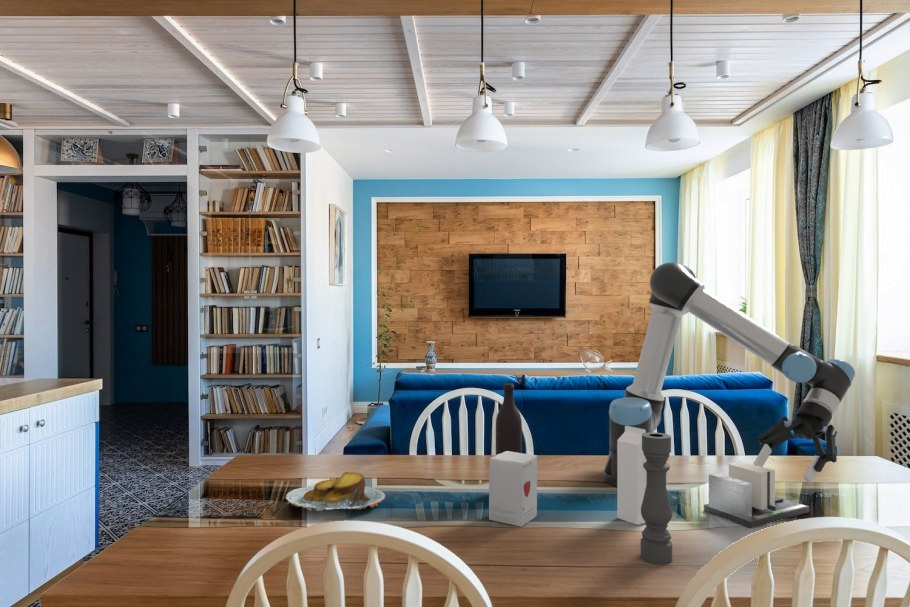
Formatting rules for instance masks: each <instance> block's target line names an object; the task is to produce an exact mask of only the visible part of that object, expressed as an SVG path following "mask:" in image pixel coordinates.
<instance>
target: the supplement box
mask: <svg viewBox="0 0 910 607" xmlns="http://www.w3.org/2000/svg"><path fill="white" fill-rule="evenodd" d="M488 468H489V470H488V472H489V474H488V476H489V477H488V478H489V480H488V483H489V484H488V486H489V487H488V520H490V521H494V522H497V523H498V522H499V523H503V524H508V525H511V526H512V525H513V526H516V527H521V528H522V527H523V526H524V525H526V524H528V523H529V522H530V521H532V520H533V519H534V518H536V517H537V516H538V455H536V454H529V453H523V452H522V453H517V452H511V451H505V452H503V453H501V454H498V455H496V454H495V455H494V456H492V457H490V458H489V466H488Z"/></svg>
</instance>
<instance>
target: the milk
mask: <svg viewBox="0 0 910 607" xmlns="http://www.w3.org/2000/svg"><path fill="white" fill-rule="evenodd" d="M643 433H646V430H645V429H640V428H635V427H630V426H625V432H624V433H623V434H622V436H621V437H620V438H619V439H618V440H617V486H616V488H617V490H616V492H617V493H616V494H617V495H616V496H617V499H616V500H617V501H616V502H617V506H616V508H617V511H616V513H617V516H616V518H617V519H619V520H622V521H624V522H628V523H630V524H633V525H636V526H640V525H642V524H643V525H644V524H645V521H644V520H643V518H642V515H641V505H642V501H643V497H644V493H645V489H646V469H644V467H643V463H645V462H646V461H647V460H646V459H645V456H644V454H643V451H642V434H643Z"/></svg>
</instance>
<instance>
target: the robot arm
mask: <svg viewBox="0 0 910 607" xmlns="http://www.w3.org/2000/svg"><path fill="white" fill-rule="evenodd" d="M649 288H650V290H651V293H650V298H649V301H648V304H649V306H650V308H651V314H650V316H649V321H648V325H647V328H646V333H645V336H644V340H643V345H642V348H641V351H640V356H639V359H638V363H637V366H636V371H635V373H634V379H633V382H632V384H630V385H628V386H627V387H626V388H625V393H624V396H623V397H621V398H616V399H613V400H612V401H611V402H610V404H609V409H608V416H609V417H608V418H609V454H608V458H607V460H606V462H605V465H604V469H603V474H602V476H603V478H602V479H603V481H604V482H605V483H607V484H609V485H611V486H615V487H617V440H618V439H619V438H620V437H621V436H622V434H623V433H624V432H625V426H630V427H635V428H640V429H645V430H646V433H650V432H654V431H655V430H656V429H657V428H658V427H659V425H660V423H661V421H662V409H663V406H664V402H665V397H664V395H663V393H662V390H663V385H664V383H665V382H664V381H665V379H666V374H667V372H668V371H667V370H668V369H669V368H668V367H669V364H670V359H671V356H672V353H673V349H674V346H675V342H676V337H677V334H678V330H679V325H680V324H681V318H682V317H684V316H685V315H686V314H688V313H690V314H692V315H694V316H695V317H696V318H697V319H700V320H701V321H703V322H704V323H705V324H707V325H709V326H710V327H711V328H714V330H716V331H717V332H719V333H721V334H722V335H723V336H725V337H726V338H728V339H729V340H731V341H733V342H734V343H736V344H738V345H739V346H740V347H742V349H745V350H747V351H748V352H749V353H751V354H752V355H754V356H755V357H757V358H759V359H761V361H763V362H765V364H767V365H769V366H771V367H772V368H773V369H775V370H777V371H778V372H780V374H782V375H784V376H785V378H787V379H788V380H790V381H792V382H793V383H801V384H803V383H805V384H807V385H809V386H811V388H810V390H809V391H808V393H807V394H806V397H805V398H804V400H803V402H802V403H801V405H800V407H799V408H798V410H797V412H796V417H795V418H794V419H790V418H789V419H788V418H787V416H782V417H781V419H780V420H779V422H777V423H776V424H774V425H773V426H772V427H770V428H769V429H767V430H766V431H764V433H762V434H761V435H759V436H758V437H757V441H758V442H759V444H760V445H761V446H760V448H758V451H757V456H756V458H755V460H754V462H753V465H756V466H760V467H764V465H765V463H767V460H768V459H769V457H770V455H771V453H772V452H773V450H772V448H775V447H777V446H778V445H780V444H782V443H784V442H787V441H788V440H789V441H790V440H794V439H797V438H798V439H805V440H807V441H810V440H812V442H813V444H814V446H815V449H816V452H817V455H814V456H813V457H812V460H811V461H810V463H809V465H808V467H807V468H806V470H805V472H804V473H803V474H804V475H803V478H804V479H805V481H806V483H807V484H810V485H811V484H812V482H813V481H814V479H815V477H816V475H817V474H818V473H821V472H822V471H823V468H824V467H825V465H826V464H827V463H828V462H831V463H836V462H837V461H838V460H837V459H838V458H837V448H836V447H837V446H836V436H837V433H838V431H837V430H836V429H835V427H834V424H830V422H831V420H832V418H833V416H834V415H835V413H836V411H837V409H838V407H839V406H840V404H841V402H842V400H843V399H844V397H845V395H846V394H847V392H848V390H849V388H850V387H851V386H852V383H853V380H854V378H855V376H856V371H855V368H854V367H853V366H852V364H850V363H848V362H846V361H845V360H840V359H839V358H831V359H828V360H827V361H825V360H822V359H820V358H819V357H817V356H815V355H813V354H811V353H810V352H808V351H806V350H805V349H803V348H801V347H799V346H798V345H795V344H793V343H790V342H788V341H787V340H785V339H784V338H782V337H781V336H779V335H777V334H776V333H775V332H773V331H772V330H770V329H768V328H766V327H765V326H764V325H762V324H761V323H759V322H757V321H756V320H754V319H753V318H751V317H749V316H748V315H747V314H745V313H743V312H742V311H740V310H738V309H737V308H735V307H734V306H732V304H731V305H730V304H729V303H728V302H726V301H725V300H723V299H721V298H720V297H718V296H716V295H715V294H713V293H712V292H710V291H709V290H707V289H706V287H705V284H704V283H703V282H702V281H700V280H698V278H697V277H696V274H695V272H693V270H692V269H690V267H688V266H686V265H683V264H681V263H677V262H671V261H670V262H665V263H662V264H660V265H658V266H657V267H656V268H655V269H654V270H653V271H652V272H651V275H650V279H649ZM792 432H793V433H792ZM822 434H825V441H826V442H825V443H826V452H825V449H824V447H823V444H822V442H821V439H820V437H819V436H820V435H822Z"/></svg>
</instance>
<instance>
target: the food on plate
mask: <svg viewBox="0 0 910 607" xmlns="http://www.w3.org/2000/svg"><path fill="white" fill-rule="evenodd" d="M385 499H386V494H385V493H384V492H383V491H382V490H379V489H377V488H374V487H372V486H366V480H365V477H364V475H363V474H362V473H361V472H360V473H359V472H356V471H345V472H343V473H342V474H341V476H340V477H339V478H335V479H334V478H333V479H326V480H325V479H324V480H321V481H318V482H317V483H315V484H313V485H308V486H305V487H299V488H295V489H292V490H290V491H289V492H287V493H286V494H285V500H287V505H289V504H291V506H295V507H297V508H299V507H301V508H302V509H303V508H305V509H307V511H308V510H309V511H312V510H315V511H317V512H322V511H325V510H326V511H330V510H335V509H336V510H340V509H343V510H346V509H347V510H361V509H366V508H367V507H370V508H374V507H377V506H379V503H381V502H382V501H384V500H385Z"/></svg>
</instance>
